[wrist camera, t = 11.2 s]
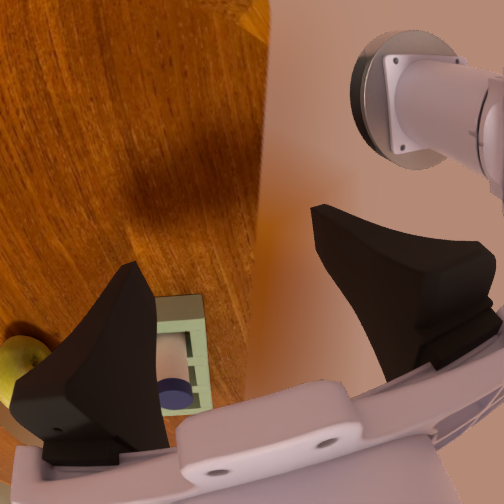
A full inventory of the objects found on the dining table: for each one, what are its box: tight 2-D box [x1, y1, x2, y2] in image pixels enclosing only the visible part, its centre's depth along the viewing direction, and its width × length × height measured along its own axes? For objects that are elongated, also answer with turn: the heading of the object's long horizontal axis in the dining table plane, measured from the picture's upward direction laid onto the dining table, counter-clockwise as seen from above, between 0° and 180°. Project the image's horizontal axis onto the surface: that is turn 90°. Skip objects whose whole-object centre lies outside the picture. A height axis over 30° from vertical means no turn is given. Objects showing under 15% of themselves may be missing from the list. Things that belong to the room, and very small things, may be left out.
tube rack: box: [155, 294, 213, 416], centre depth 29 cm, size 15×6×3 cm, turn 177°
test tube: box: [156, 331, 193, 410], centre depth 24 cm, size 3×3×8 cm
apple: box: [0, 335, 51, 408], centre depth 23 cm, size 8×9×8 cm
